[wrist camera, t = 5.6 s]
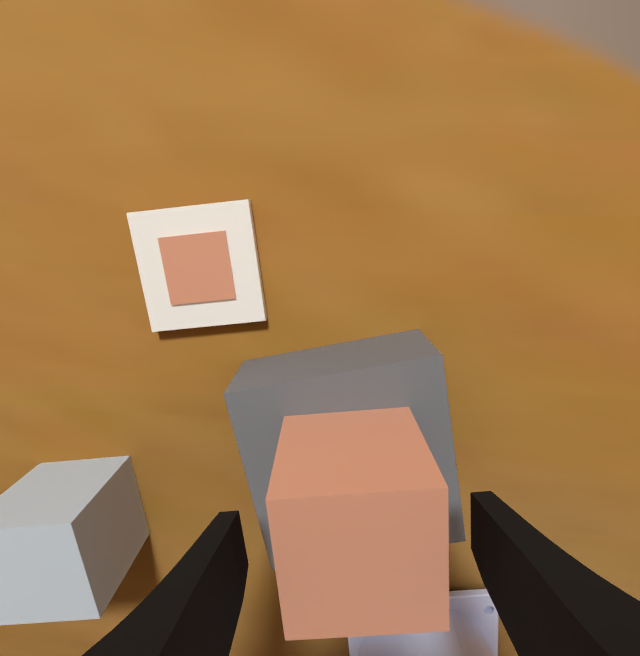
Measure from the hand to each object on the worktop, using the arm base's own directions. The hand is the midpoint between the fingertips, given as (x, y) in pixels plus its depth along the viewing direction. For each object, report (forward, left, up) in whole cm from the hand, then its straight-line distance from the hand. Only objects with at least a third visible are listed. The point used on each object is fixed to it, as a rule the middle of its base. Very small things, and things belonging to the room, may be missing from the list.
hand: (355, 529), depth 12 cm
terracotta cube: (0, 0, -3) cm, 3 cm away
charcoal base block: (0, 0, -7) cm, 7 cm away
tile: (+8, +6, -7) cm, 12 cm away
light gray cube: (-3, +13, -7) cm, 15 cm away
